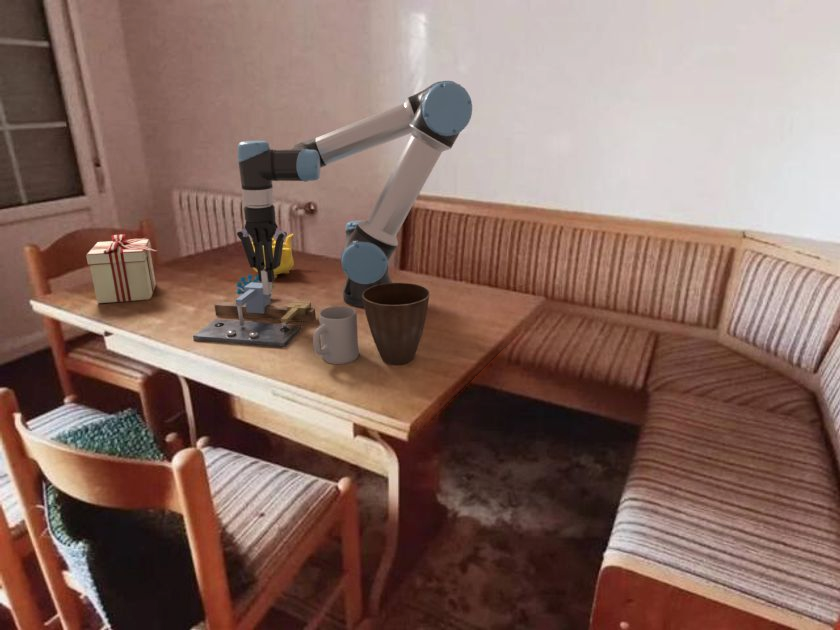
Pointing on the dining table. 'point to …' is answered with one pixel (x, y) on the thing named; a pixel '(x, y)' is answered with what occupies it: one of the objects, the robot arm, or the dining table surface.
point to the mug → (337, 335)
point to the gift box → (122, 269)
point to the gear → (247, 283)
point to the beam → (270, 313)
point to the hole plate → (248, 333)
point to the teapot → (282, 257)
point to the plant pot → (396, 319)
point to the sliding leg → (252, 300)
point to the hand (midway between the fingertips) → (268, 292)
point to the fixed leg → (295, 311)
